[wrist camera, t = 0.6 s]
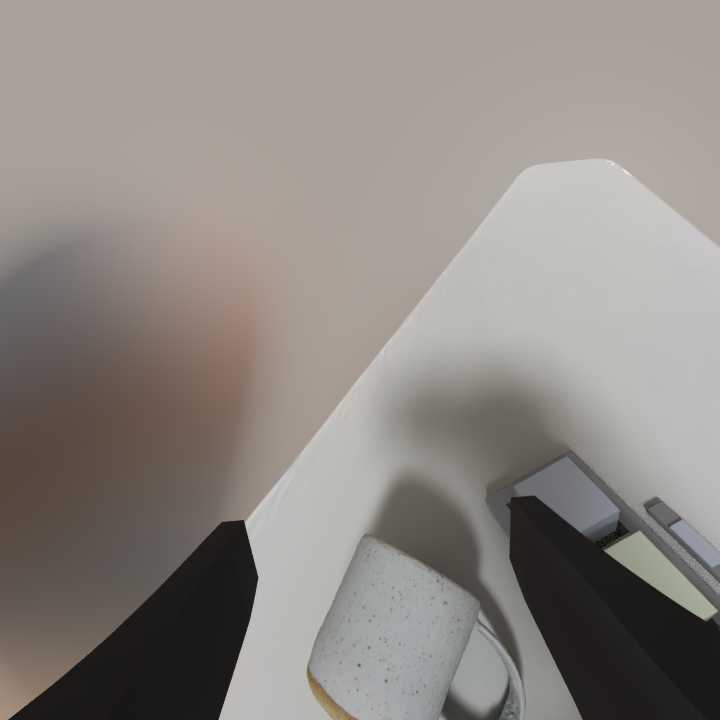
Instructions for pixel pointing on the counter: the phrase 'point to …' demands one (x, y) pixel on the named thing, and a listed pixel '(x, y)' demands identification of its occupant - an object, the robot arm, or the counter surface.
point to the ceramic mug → (397, 640)
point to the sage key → (660, 573)
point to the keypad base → (626, 525)
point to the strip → (687, 538)
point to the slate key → (573, 498)
